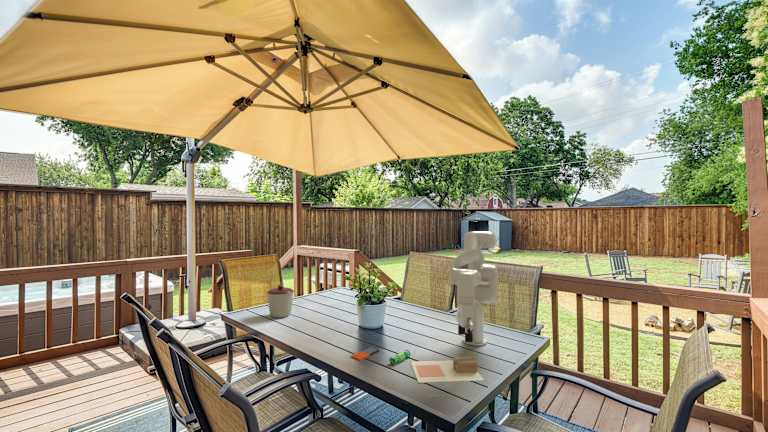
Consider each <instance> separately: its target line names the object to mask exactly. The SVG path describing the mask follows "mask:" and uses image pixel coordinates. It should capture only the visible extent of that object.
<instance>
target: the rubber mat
mask: <svg viewBox="0 0 768 432" xmlns="http://www.w3.org/2000/svg"><path fill="white" fill-rule="evenodd" d="M410 365H411V367H412V370H413V372H414V375H415V377H416V380H417V383H418V384H427V383H446V382H447V383H448V382H470V381H472V382H474V381H475V382H476V381H485V379H484V378H483V376H482V375H481V374H480V373H479V371H478V370H477V372H475V373H457V372H456V370H455V369H454V367H453V359H452V360H451V359H450V360H428V361H427V360H426V361H425V360H422V361H421V360H420V361H419V360H417V361H410Z"/></svg>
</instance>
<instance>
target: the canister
mask: <svg viewBox="0 0 768 432" xmlns="http://www.w3.org/2000/svg"><path fill="white" fill-rule="evenodd" d="M294 292H295V290H294V289H293V288H290V287H284V285H283V284H278V285H277V287H275V288H274V287H273V288H271V289H269V290H268V291H266V292H265V293H266V295H267V302H268V310H269V315H270V316H271V317H272V318H275V319H276V318H277V319H282V318H287V317H289V316H290V315H291V313H292V309H293V308H292V307H293V299H294Z"/></svg>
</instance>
